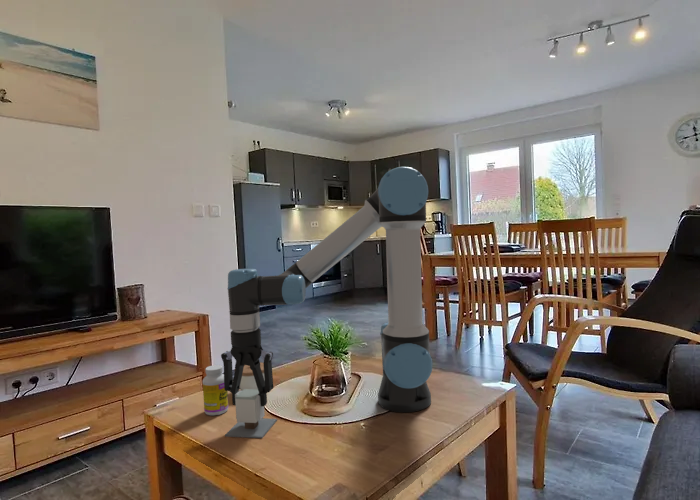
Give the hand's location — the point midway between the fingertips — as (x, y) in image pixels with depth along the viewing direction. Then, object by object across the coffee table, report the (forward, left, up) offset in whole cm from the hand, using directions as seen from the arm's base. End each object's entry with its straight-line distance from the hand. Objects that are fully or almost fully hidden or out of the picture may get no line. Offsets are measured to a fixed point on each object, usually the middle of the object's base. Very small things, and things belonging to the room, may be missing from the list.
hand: (250, 417), depth 112 cm
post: (0, 0, -3) cm, 3 cm away
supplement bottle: (+15, -9, -3) cm, 18 cm away
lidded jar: (+11, -25, -3) cm, 27 cm away
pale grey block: (0, 0, 0) cm, 0 cm away
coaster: (0, 0, -3) cm, 3 cm away
